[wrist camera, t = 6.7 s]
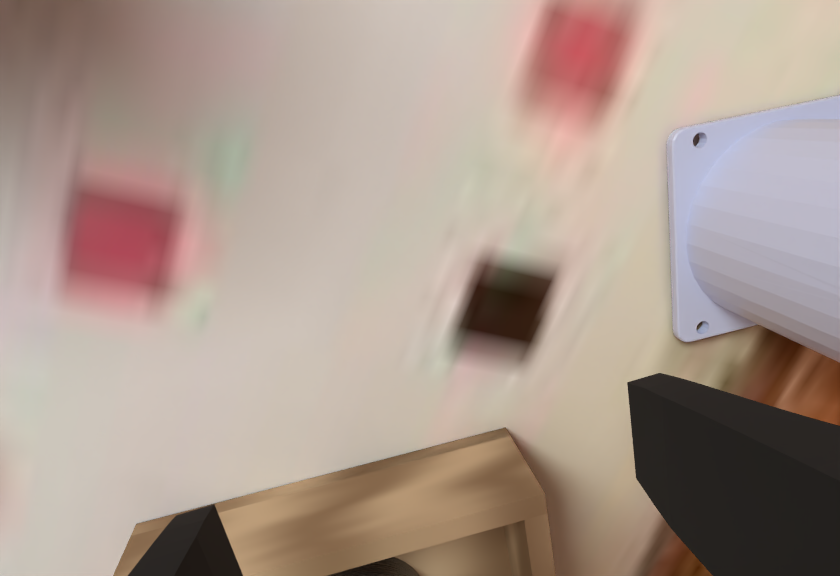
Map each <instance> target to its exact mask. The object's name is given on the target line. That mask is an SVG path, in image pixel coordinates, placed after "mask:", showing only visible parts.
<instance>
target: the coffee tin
mask: <svg viewBox="0 0 840 576" xmlns="http://www.w3.org/2000/svg"><path fill="white" fill-rule="evenodd" d="M327 576H420V575H419V574H418V573H417V571H416V570H415V569H414V568H413V567H411V566H410V565H409V564H407V563H406V562H404V561H402V560H400V559H398V558H395V557H391V558H388V559H384V560H380V561H377V562H373V563H370V564H366V565H363V566H359V567H356V568H352V569H348V570H345V571H341V572H338V573H334V574H331V575H327Z"/></svg>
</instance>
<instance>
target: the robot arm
mask: <svg viewBox="0 0 840 576" xmlns="http://www.w3.org/2000/svg"><path fill="white" fill-rule="evenodd" d="M696 134H698V135H699V138H700V139H699V143H698V144H697V145H696V146H694V145H693V138H694V136H695V135H696ZM667 170H668V199H669V228H670V258H671V287H672V317H673V333H674V335H675V336H676V337H677V338H678V339H680V340H681V341H684V342H692V341H696V340H700V339H704V338H708V337H712V336H716V335H720V334H724V333H728V332H732V331H736V330H740V329H743V328H747V327H751V326H755V325H761V326H763V327H765V328H767V329H769V330H771V331H773V332H776V333H778V334H780V335H782V336H784V337H786V338H788V339H790V340H793V341H795V342H797V343H799V344H801V345H803V346H805V347H807V348H810V349H812V350H814V351H816V352H818V353H820V354H822V355H824V356H826V357H829V358H831V359H833V360H835V361H837V362H839V363H840V95H836V96H831V97H826V98H822V99H817V100H812V101H807V102H802V103H797V104H793V105H788V106H783V107H778V108H773V109H768V110H764V111H759V112H754V113H749V114H744V115H739V116H735V117H730V118H725V119H720V120H715V121H710V122H705V123H701V124H696V125H691V126H686V127H681V128H678V129H676V130H674V131H673V132H672V133H671V134H670V136H669V138H668V140H667ZM700 322H702V326H701V327H700V328H699V329H698V330H696V328H697V325H698V324H699V323H700ZM627 383H628V393H629V404H630V415H631V426H632V437H633V448H634V459H635V470H636V478H637V480H638V481H639V483H640V484H641V486H642V487H643V489H644V490H645V492H646V493H647V495H648V496H649V498H650V499H651V501H652V502H653V504H654V505H655V507H656V508H657V509H658V511H659V512H660V513H661V515H662V516H663V518H664V519H665V520H666V522H667V523H668V525H669V526H670V527H671V529H672V530H673V531H674V532H675V533H676V534H677V536H678V537H679V538H680V539H681V540H682V541H683V542H684V544H685V545H686V546H687V547H688V548H689V549H690V550H691V551H692V553H693V554H694V555H695V556H696V557H697V558H698V559H699V561H700V562H701V563H702V564H703V565H704V566H705V567H706V568H707V570H708V571H709V572H710V573H711V574H712V575H713V576H840V426H838V425H834V424H830V423H827V422H823V421H820V420H816V419H813V418H809V417H806V416H802V415H799V414H795V413H792V412H789V411H785V410H782V409H779V408H775V407H772V406H769V405H766V404H762V403H759V402H756V401H753V400H750V399H746V398H743V397H740V396H737V395H734V394H730V393H727V392H724V391H721V390H718V389H715V388H711V387H708V386H705V385H702V384H698V383H695V382H692V381H688V380H685V379H681V378H678V377H674V376H670V375H666V374H661V373H658V374H655V375H651V376H648V377H644V378H641V379H638V380H634V381H631V382H627ZM128 576H243V574H242V572H241V569H240V567H239V564H238V562H237V559H236V557H235V554H234V552H233V549H232V547H231V544H230V542H229V539H228V537H227V534H226V532H225V529H224V527H223V524H222V522H221V519H220V517H219V514H218V512H217V509H216V507H215V504H213V505H209V506H206V507H203V508H199V509H196V510H192V511H189V512H186V513H182V514H179V515H176V516H175V517H174V518H173V519H172V521H171V522H170V523H169V524H168V525H167V526H166V528H165V529H164V530H163V531H162V532H161V534H160V535H159V536H158V537H157V539H156V540H155V541H154V542H153V544H152V545H151V546H150V548H149V549H148V550H147V551H146V553H145V554H144V555H143V556H142V558H141V559H140V560H139V562H138V563H137V564H136V565H135V567H134V568H133V569H132V571H131V572H130V573H129V574H128Z"/></svg>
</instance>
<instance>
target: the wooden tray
mask: <svg viewBox="0 0 840 576" xmlns="http://www.w3.org/2000/svg"><path fill="white" fill-rule="evenodd" d="M211 505H213V504H211ZM207 506H209V505H207ZM204 507H206V506H204ZM215 507H216V509H217V512H218V514H219V517H220V519H221V522H222V524H223V527H224V529H225V532H226V534H227V537H228V539H229V542H230V544H231V547H232V549H233V552H234V554H235V557H236V559H237V562H238V564H239V567H240V569H241V572H242V574H243V576H327V575H331V574H334V573H338V572H341V571H345V570H348V569H352V568H356V567H359V566H363V565H366V564H370V563H373V562H377V561H380V560H384V559H388V558H391V557H395V558H398V559H400V560H402V561H404V562H406V563H407V564H409V565H410V566H411V567H413V568H414V569H415V570H416V571H417V573H418V574H419V575H420V576H556V575H555V567H554V559H553V551H552V544H551V536H550V528H549V520H548V512H547V505H546V497H545V493H544V491H543V489H542V488H541V486H540V484H539V483H538V481H537V479H536V478H535V476H534V474H533V473H532V471H531V469H530V468H529V466H528V464H527V463H526V461H525V459H524V458H523V456H522V454H521V453H520V451H519V449H518V448H517V446H516V444H515V443H514V441H513V439H512V438H511V436H510V434H509V433H508V431H507V429H506V428H502V429H498V430H495V431H491V432H487V433H483V434H479V435H475V436H472V437H468V438H464V439H460V440H456V441H452V442H449V443H445V444H441V445H437V446H433V447H429V448H426V449H422V450H418V451H414V452H410V453H406V454H403V455H399V456H395V457H391V458H387V459H384V460H380V461H376V462H372V463H368V464H364V465H361V466H357V467H353V468H349V469H345V470H341V471H338V472H334V473H330V474H326V475H322V476H318V477H315V478H311V479H307V480H303V481H299V482H295V483H292V484H288V485H284V486H280V487H276V488H272V489H269V490H265V491H261V492H257V493H253V494H249V495H246V496H242V497H238V498H234V499H230V500H227V501H223V502H219V503H215ZM200 508H203V507H200ZM196 509H199V508H196ZM196 509H192V510H196ZM192 510H188V511H184V512H181V513H177V514H173V515H169V516H165V517H161V518H158V519H154V520H150V521H146V522H142V523H138V524H136V526H135V528H134V530H133V533H132V535H131V537H130V539H129V542H128V544H127V546H126V548H125V550H124V553H123V555H122V557H121V559H120V562H119V564H118V566H117V568H116V570H115V573H114V575H113V576H128V574H129V573H130V572H131V571H132V569H133V568H134V567H135V565H136V564H137V563H138V562H139V560H140V559H141V558H142V556H143V555H144V554H145V553H146V551H147V550H148V549H149V548H150V546H151V545H152V544H153V542H154V541H155V540H156V539H157V537H158V536H159V535H160V534H161V532H162V531H163V530H164V529H165V528H166V526H167V525H168V524H169V523H170V522H171V521H172V519H173V518H174V517H175V516H176V515H179V514H182V513H186V512H189V511H192Z"/></svg>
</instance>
